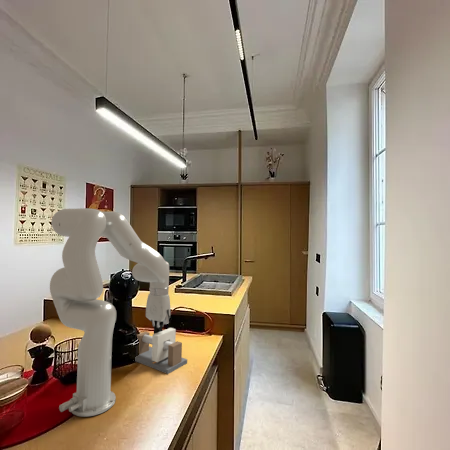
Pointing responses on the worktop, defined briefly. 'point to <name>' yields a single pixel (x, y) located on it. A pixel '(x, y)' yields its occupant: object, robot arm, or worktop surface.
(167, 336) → the collar
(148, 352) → the rod rig
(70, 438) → the worktop surface
